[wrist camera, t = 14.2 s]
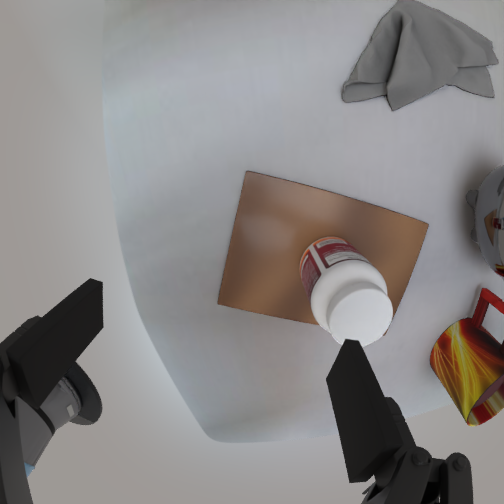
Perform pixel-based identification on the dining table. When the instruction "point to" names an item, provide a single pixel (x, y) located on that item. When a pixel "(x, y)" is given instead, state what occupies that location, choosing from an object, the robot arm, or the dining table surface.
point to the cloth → (420, 57)
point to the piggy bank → (490, 219)
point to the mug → (472, 364)
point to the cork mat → (308, 244)
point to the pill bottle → (345, 291)
